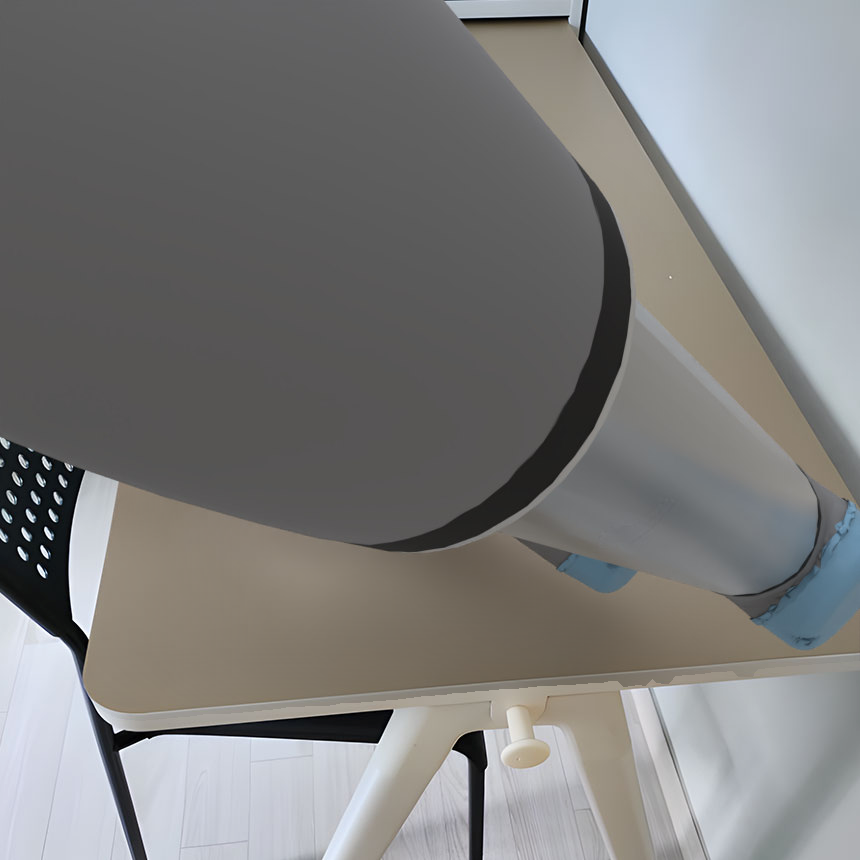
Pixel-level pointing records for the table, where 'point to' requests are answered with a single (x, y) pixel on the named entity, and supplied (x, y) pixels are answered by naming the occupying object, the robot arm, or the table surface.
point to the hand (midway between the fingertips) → (282, 331)
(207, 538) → the table surface
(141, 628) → the table surface
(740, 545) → the robot arm
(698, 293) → the table surface
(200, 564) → the table surface
